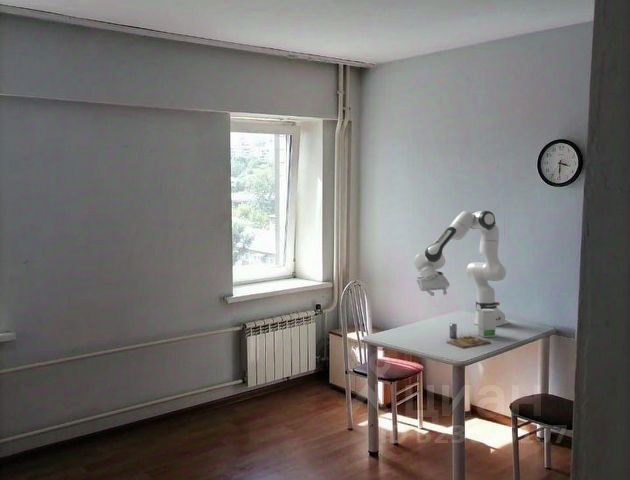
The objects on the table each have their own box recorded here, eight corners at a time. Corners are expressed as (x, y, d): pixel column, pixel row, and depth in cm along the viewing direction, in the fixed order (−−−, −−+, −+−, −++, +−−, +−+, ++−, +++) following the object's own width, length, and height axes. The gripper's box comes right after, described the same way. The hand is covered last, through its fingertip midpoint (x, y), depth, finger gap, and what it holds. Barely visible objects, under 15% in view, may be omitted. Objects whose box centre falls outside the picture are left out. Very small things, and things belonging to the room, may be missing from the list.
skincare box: (482, 337, 344) (483, 311, 342) (477, 334, 350) (477, 308, 349) (496, 336, 345) (496, 310, 344) (490, 333, 352) (490, 308, 350)
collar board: (474, 338, 342) (474, 333, 342) (490, 343, 331) (490, 338, 331) (447, 342, 334) (447, 337, 333) (462, 348, 322) (462, 343, 322)
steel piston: (453, 336, 347) (453, 323, 346) (458, 338, 343) (458, 324, 343) (448, 337, 345) (448, 324, 344) (452, 339, 342) (452, 325, 341)
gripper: (417, 274, 354) (427, 293, 346) (444, 272, 363) (455, 290, 355) (413, 280, 359) (422, 299, 351) (440, 278, 368) (450, 296, 360)
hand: (439, 294), depth 353 cm, fingers open, 8 cm apart
